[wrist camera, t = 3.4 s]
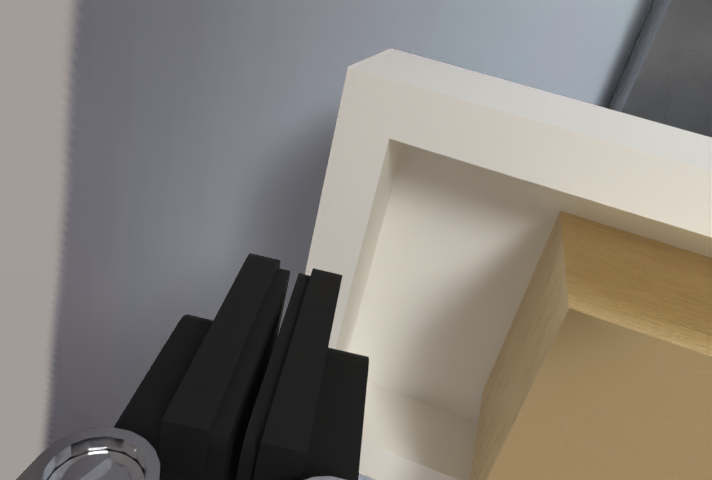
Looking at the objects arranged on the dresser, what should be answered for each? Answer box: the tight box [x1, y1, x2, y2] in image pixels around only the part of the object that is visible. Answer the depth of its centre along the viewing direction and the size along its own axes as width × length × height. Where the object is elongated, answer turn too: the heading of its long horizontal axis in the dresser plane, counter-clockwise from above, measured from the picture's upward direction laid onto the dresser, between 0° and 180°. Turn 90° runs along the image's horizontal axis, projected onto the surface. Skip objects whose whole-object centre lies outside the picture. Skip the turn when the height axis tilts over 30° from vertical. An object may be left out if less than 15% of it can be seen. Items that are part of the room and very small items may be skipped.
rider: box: [470, 211, 712, 480], centre depth 11 cm, size 5×5×4 cm
